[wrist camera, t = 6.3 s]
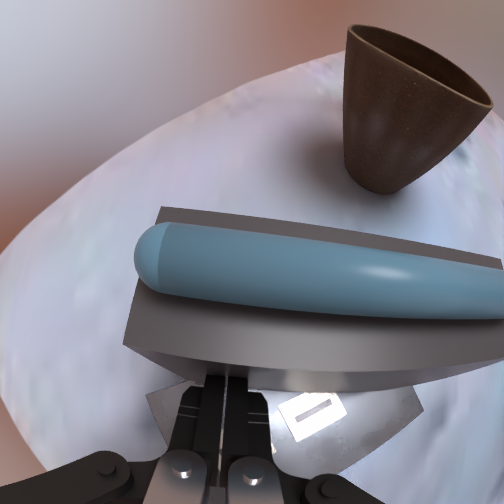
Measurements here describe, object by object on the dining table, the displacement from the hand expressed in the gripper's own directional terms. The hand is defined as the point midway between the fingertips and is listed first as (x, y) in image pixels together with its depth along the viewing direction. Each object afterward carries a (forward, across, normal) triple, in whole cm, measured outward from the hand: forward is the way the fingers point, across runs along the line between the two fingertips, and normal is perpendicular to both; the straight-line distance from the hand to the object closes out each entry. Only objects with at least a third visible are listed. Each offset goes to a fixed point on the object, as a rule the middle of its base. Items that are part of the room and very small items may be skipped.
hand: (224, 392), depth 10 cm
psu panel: (+6, -5, +8) cm, 11 cm away
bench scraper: (+8, -5, +4) cm, 10 cm away
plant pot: (+24, -14, -10) cm, 30 cm away
